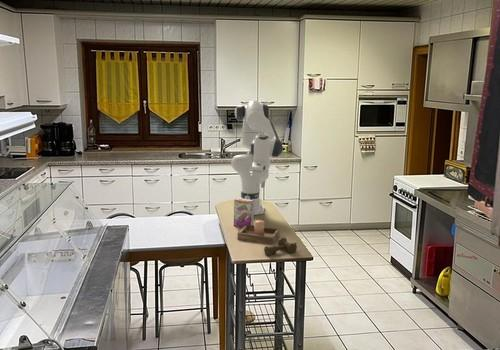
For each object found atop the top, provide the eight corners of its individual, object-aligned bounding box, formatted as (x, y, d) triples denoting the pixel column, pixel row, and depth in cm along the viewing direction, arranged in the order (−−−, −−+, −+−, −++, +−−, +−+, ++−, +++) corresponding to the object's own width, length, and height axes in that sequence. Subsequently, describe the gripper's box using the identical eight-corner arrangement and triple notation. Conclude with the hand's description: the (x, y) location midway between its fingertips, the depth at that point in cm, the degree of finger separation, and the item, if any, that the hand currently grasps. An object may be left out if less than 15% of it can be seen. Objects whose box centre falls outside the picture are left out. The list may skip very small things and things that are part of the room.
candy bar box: (233, 225, 269) (233, 199, 265) (236, 223, 274) (236, 197, 270) (250, 228, 265) (251, 201, 262) (253, 225, 270) (254, 199, 267)
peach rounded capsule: (255, 232, 254) (255, 219, 253) (264, 234, 253) (265, 220, 251) (252, 236, 249) (253, 222, 247) (262, 237, 248) (262, 223, 246)
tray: (246, 230, 262) (246, 224, 261) (279, 234, 256) (279, 228, 255) (237, 239, 247) (237, 233, 246) (272, 243, 241) (272, 237, 240)
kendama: (260, 253, 229) (290, 245, 240) (271, 260, 221) (302, 251, 232) (260, 242, 228) (291, 234, 239) (272, 249, 220) (303, 240, 231)
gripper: (261, 161, 253) (260, 184, 256) (250, 167, 234) (249, 193, 237) (271, 162, 251) (270, 185, 254) (261, 168, 232) (260, 194, 235)
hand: (260, 189), depth 246 cm, fingers open, 8 cm apart
